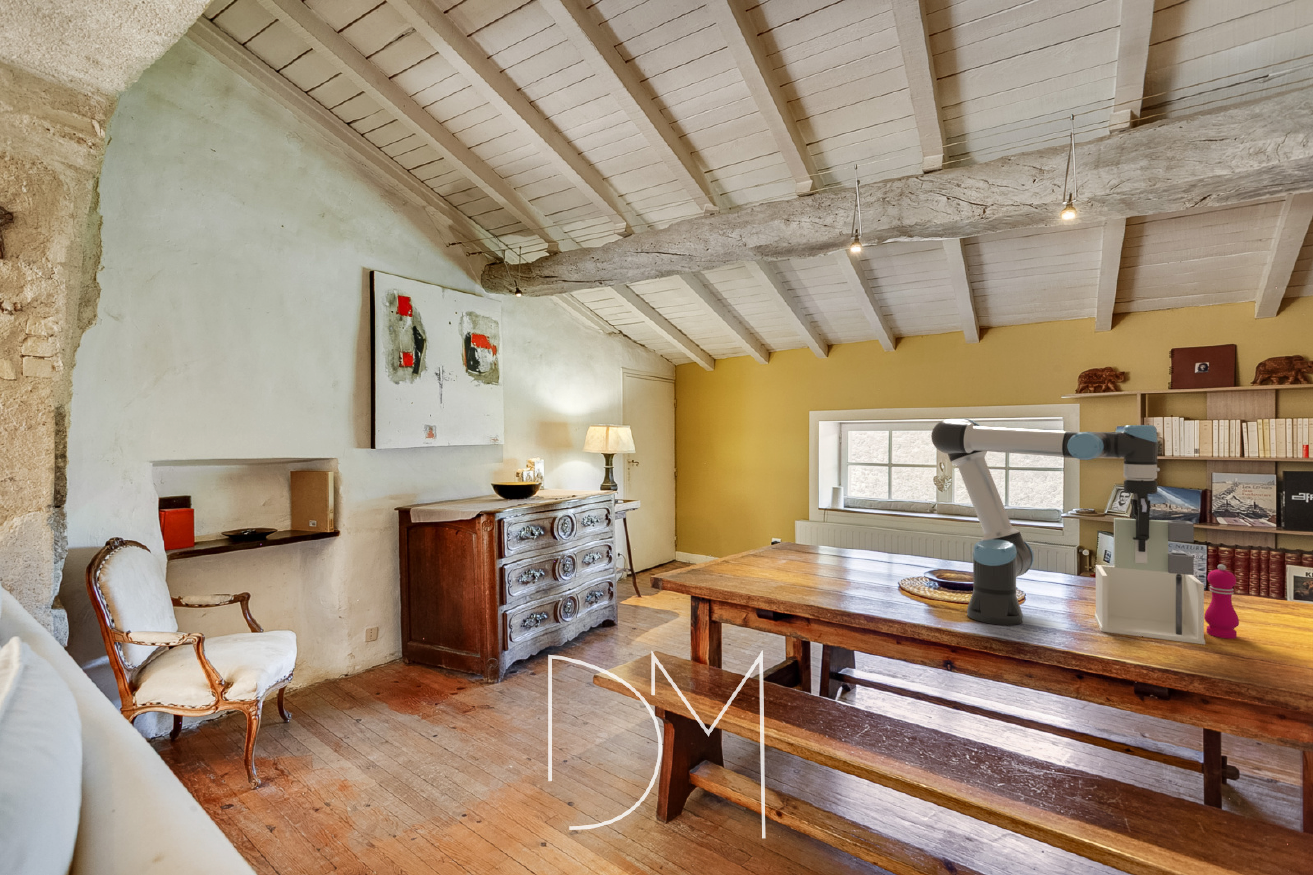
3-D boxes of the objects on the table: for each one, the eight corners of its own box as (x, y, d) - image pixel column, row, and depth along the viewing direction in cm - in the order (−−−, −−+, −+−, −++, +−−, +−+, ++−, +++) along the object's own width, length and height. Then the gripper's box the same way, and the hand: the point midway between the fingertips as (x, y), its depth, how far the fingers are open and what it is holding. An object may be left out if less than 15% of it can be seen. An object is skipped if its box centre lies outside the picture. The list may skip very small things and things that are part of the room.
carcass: (1101, 631, 179) (1101, 575, 179) (1094, 616, 193) (1094, 564, 193) (1205, 644, 168) (1205, 584, 168) (1190, 627, 182) (1190, 572, 182)
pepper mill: (1245, 640, 171) (1246, 567, 171) (1215, 638, 173) (1215, 566, 172) (1227, 631, 178) (1227, 562, 178) (1198, 630, 180) (1198, 561, 179)
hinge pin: (1176, 634, 173) (1176, 574, 172) (1175, 632, 174) (1175, 573, 174) (1182, 635, 172) (1182, 574, 172) (1181, 633, 173) (1181, 573, 173)
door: (1115, 568, 178) (1115, 519, 178) (1113, 565, 182) (1113, 517, 182) (1193, 575, 169) (1193, 523, 169) (1188, 571, 174) (1189, 521, 174)
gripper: (1162, 481, 168) (1162, 568, 168) (1151, 477, 182) (1151, 558, 182) (1128, 480, 172) (1128, 565, 172) (1119, 476, 185) (1119, 555, 186)
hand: (1140, 561), depth 177 cm, fingers closed on door, 2 cm apart
